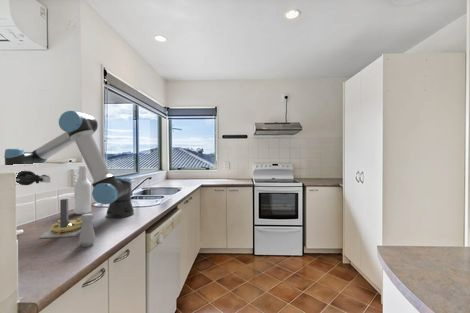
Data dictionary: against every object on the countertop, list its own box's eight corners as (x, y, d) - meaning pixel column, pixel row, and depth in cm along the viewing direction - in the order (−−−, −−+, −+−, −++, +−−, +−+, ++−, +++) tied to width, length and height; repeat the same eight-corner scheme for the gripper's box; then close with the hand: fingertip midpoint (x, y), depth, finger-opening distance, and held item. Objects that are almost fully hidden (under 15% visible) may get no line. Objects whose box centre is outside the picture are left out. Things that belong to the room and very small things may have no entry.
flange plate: (90, 223, 121) (90, 220, 121) (75, 235, 103) (75, 232, 103) (60, 225, 117) (60, 222, 117) (39, 238, 100) (39, 234, 100)
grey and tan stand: (56, 225, 114) (56, 195, 114) (86, 222, 119) (86, 194, 118) (45, 233, 102) (45, 201, 102) (79, 230, 107) (79, 199, 106)
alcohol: (70, 213, 139) (70, 165, 138) (83, 210, 147) (83, 164, 147) (82, 215, 137) (82, 166, 136) (94, 211, 145) (94, 165, 145)
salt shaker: (86, 241, 97) (86, 211, 97) (98, 242, 96) (98, 212, 96) (75, 247, 91) (75, 215, 91) (88, 248, 91) (88, 216, 90)
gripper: (39, 183, 125) (63, 185, 115) (7, 186, 113) (32, 189, 103) (38, 169, 125) (63, 170, 115) (7, 171, 113) (31, 173, 103)
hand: (48, 179), depth 109 cm, fingers closed
